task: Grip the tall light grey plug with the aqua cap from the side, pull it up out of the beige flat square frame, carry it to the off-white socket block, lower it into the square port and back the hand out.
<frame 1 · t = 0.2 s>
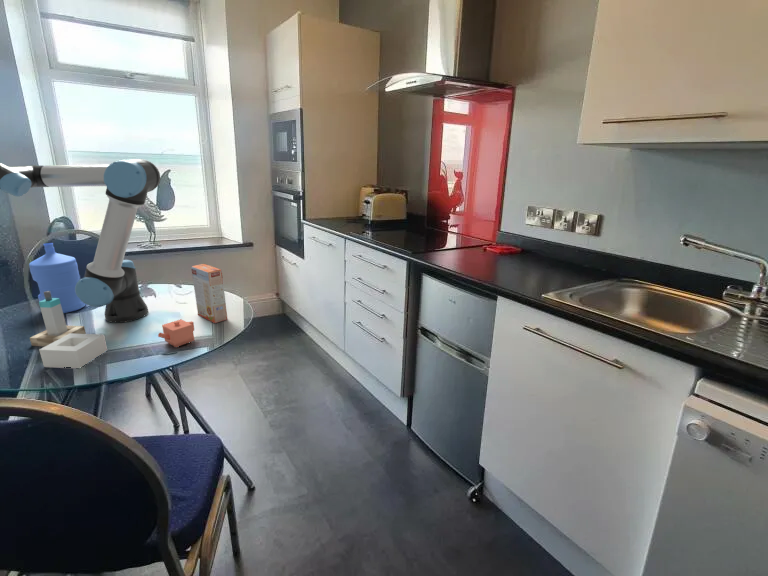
plug: (53, 316, 147), in the beige flat square frame
beige flat square frame: (59, 339, 149), on the table
socket block: (77, 358, 136), on the table
pink cube teapot: (178, 344, 146), on the table
cracker box: (213, 317, 169), on the table
water jug: (65, 308, 179), on the table
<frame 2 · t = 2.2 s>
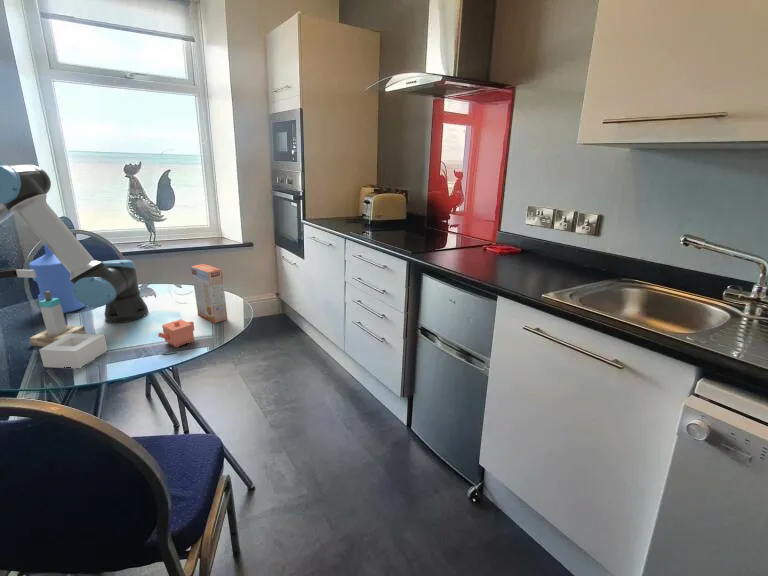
hand: (17, 279, 143), 22 cm above the table, tool horizontal, fingers open, 13 cm apart
nothing on the table moved.
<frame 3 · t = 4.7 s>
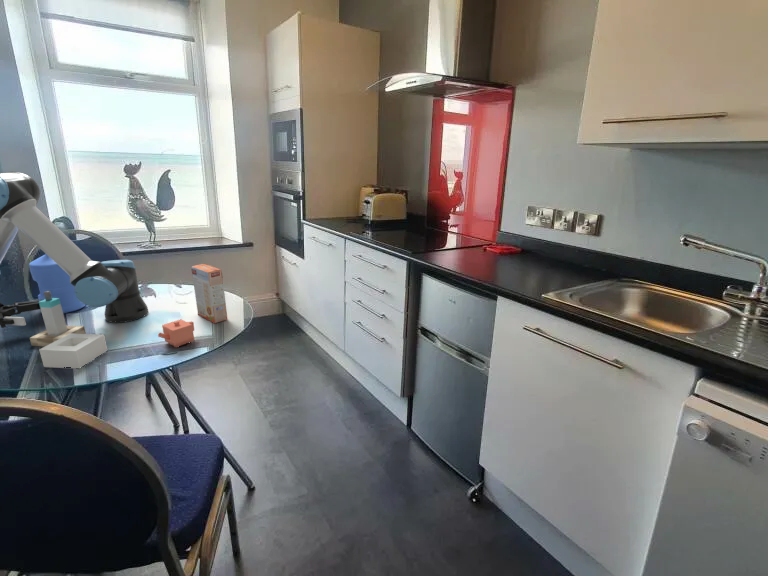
hand: (41, 313, 146), 10 cm above the table, tool horizontal, fingers open, 13 cm apart
nothing on the table moved.
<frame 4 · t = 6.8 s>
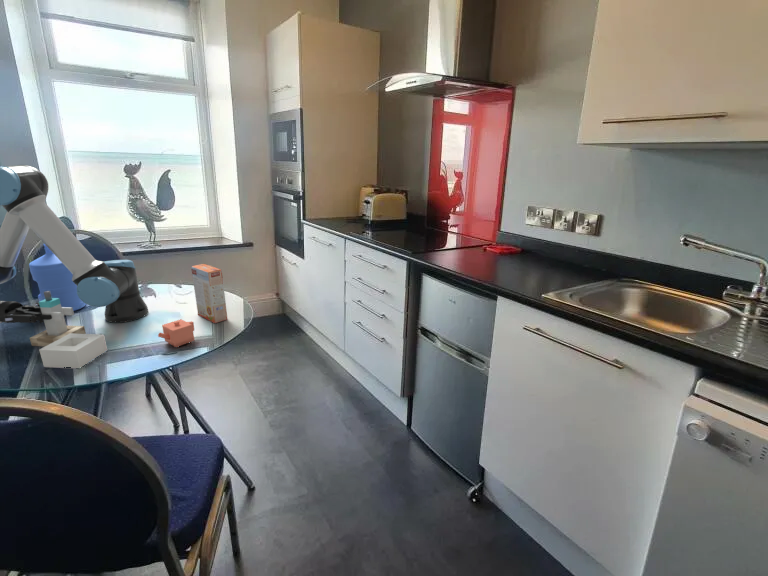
hand: (67, 313, 146), 10 cm above the table, tool horizontal, fingers closed on plug, 4 cm apart
plug: (53, 316, 147), in the beige flat square frame, touching gripper
everything else where it was.
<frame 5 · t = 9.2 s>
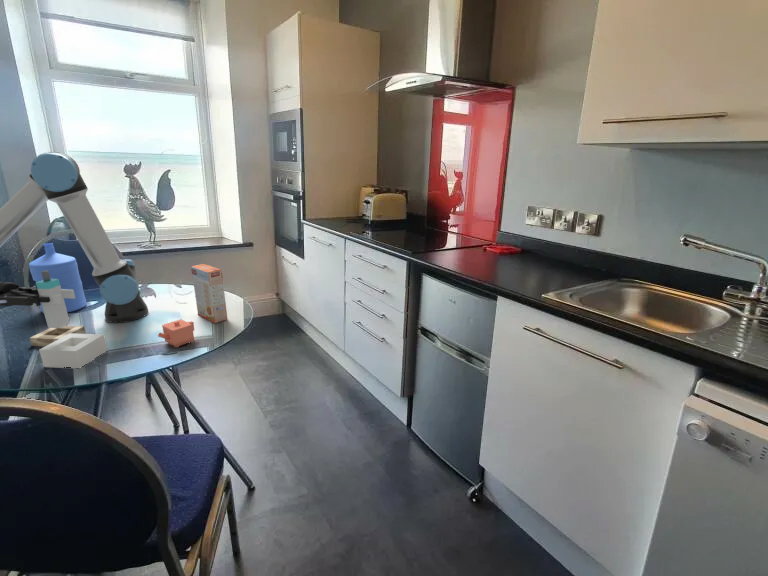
hand: (67, 296, 130), 21 cm above the table, tool horizontal, fingers closed on plug, 4 cm apart
plug: (52, 299, 131), point 20 cm above the table, touching gripper
everything else where it was.
when the fingers open (14 cm above the table, at t = 11.4 s): plug stays where it is, resting on socket block.
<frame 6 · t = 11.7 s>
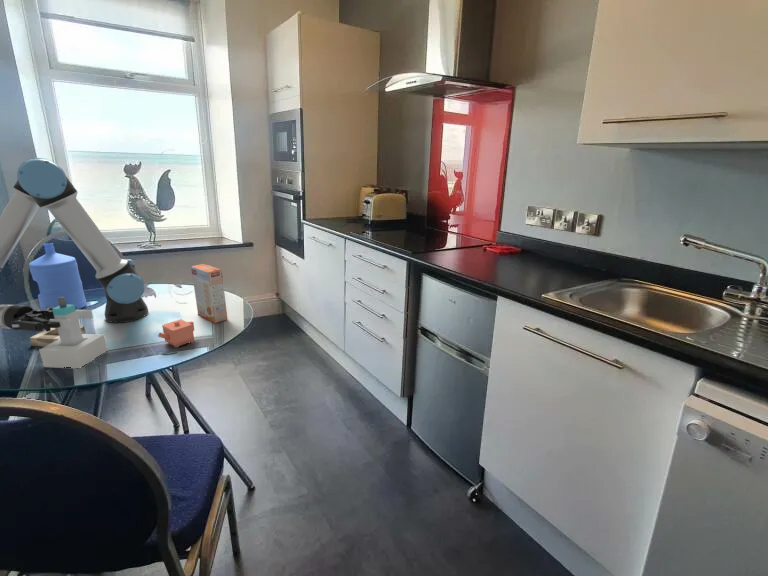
hand: (81, 319, 131), 14 cm above the table, tool horizontal, fingers open, 7 cm apart
plug: (68, 324, 132), in the socket block, point 12 cm above the table
everything else where it was.
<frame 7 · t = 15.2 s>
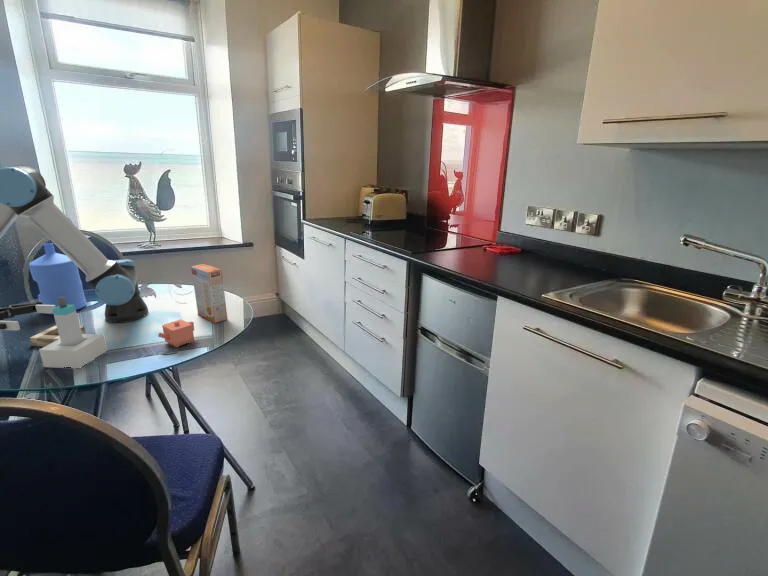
hand: (37, 317, 132), 14 cm above the table, tool horizontal, fingers open, 13 cm apart
nothing on the table moved.
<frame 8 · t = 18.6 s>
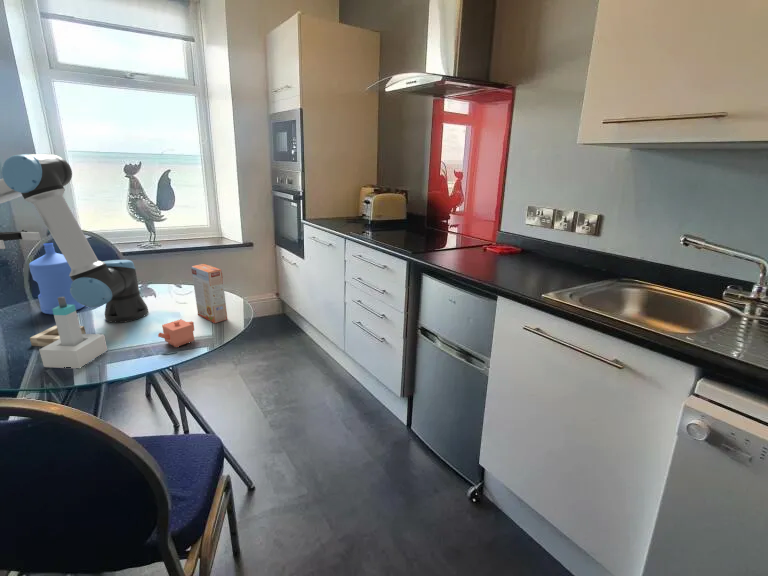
hand: (22, 240, 142), 35 cm above the table, tool horizontal, fingers open, 13 cm apart
nothing on the table moved.
at the end: plug 0.1 cm off-centre on the socket block, point 12.0 cm above the socket block's base; plug tilted 0°; the gripper is holding nothing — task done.
